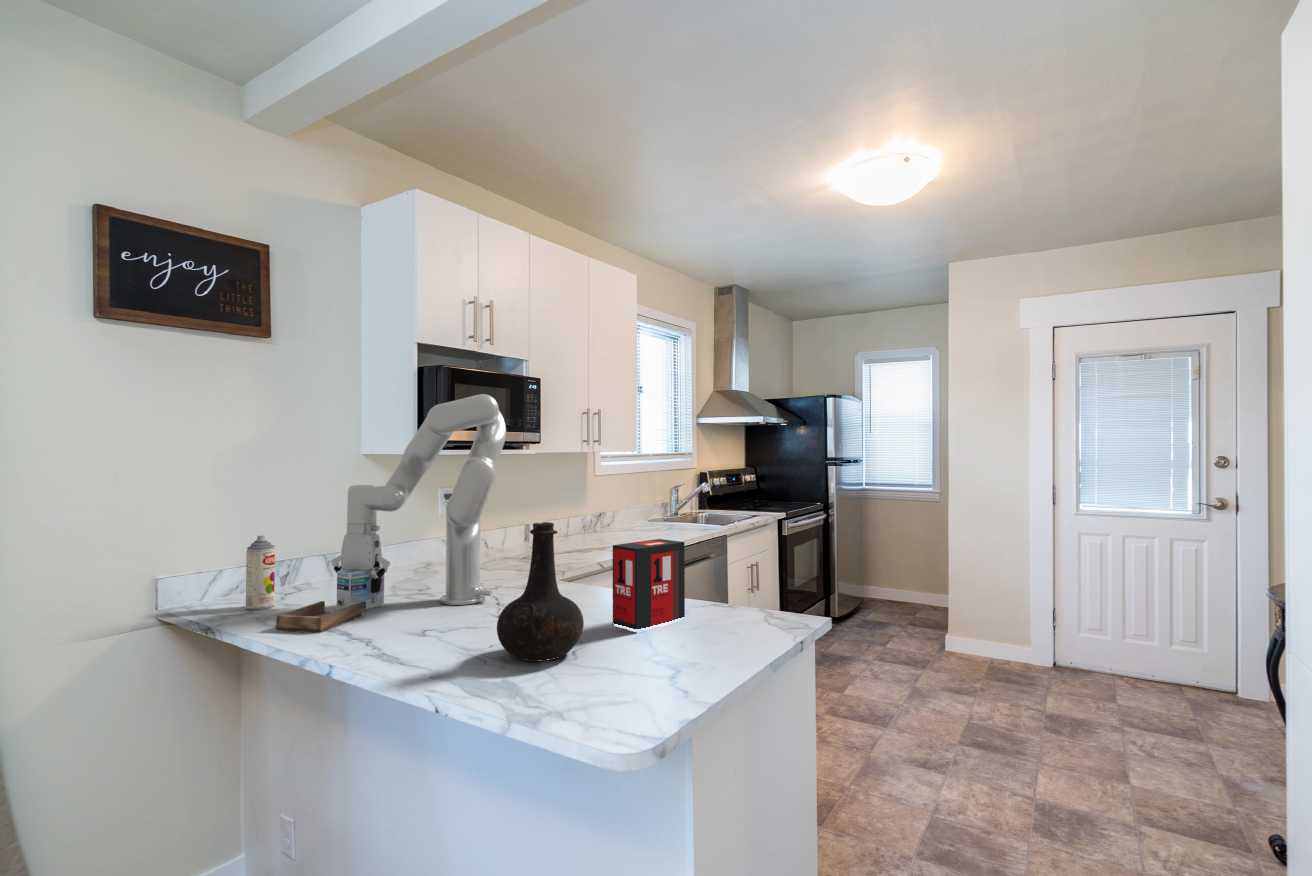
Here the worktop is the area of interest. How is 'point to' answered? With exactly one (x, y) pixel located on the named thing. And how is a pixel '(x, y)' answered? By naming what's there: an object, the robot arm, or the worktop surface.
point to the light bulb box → (357, 589)
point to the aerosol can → (260, 574)
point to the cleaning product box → (648, 583)
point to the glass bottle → (540, 608)
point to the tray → (316, 618)
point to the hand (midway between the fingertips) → (359, 591)
